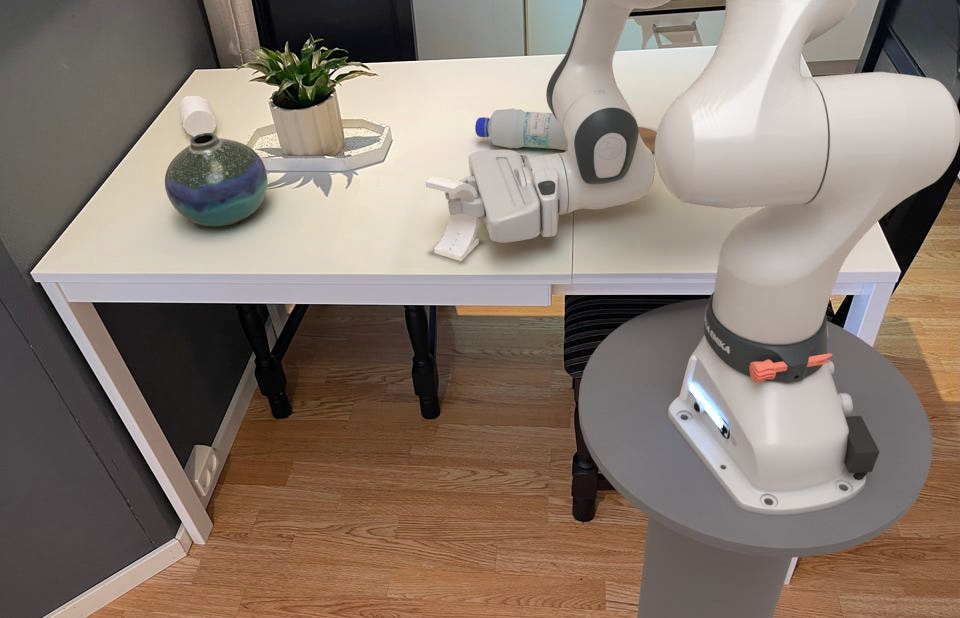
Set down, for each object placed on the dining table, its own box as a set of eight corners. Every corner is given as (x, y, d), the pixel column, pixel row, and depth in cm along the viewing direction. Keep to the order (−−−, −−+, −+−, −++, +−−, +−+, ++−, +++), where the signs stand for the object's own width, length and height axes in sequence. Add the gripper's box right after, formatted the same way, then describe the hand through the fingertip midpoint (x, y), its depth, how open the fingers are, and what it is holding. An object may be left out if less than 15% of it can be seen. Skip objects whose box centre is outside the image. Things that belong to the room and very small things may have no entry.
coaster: (671, 151, 133) (671, 149, 132) (613, 160, 132) (613, 158, 132) (651, 125, 140) (651, 123, 140) (596, 133, 140) (596, 131, 139)
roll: (211, 109, 158) (202, 83, 155) (220, 133, 150) (211, 106, 146) (180, 116, 157) (171, 89, 153) (187, 141, 148) (178, 113, 144)
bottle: (587, 139, 129) (469, 132, 133) (588, 160, 135) (475, 153, 139) (592, 104, 131) (475, 98, 135) (593, 127, 137) (481, 121, 141)
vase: (293, 196, 130) (275, 122, 121) (236, 248, 119) (211, 170, 111) (219, 182, 135) (196, 110, 127) (158, 230, 124) (128, 155, 116)
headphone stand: (434, 253, 115) (425, 181, 107) (456, 231, 118) (449, 161, 111) (461, 261, 113) (453, 189, 105) (482, 239, 116) (477, 168, 109)
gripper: (525, 134, 120) (435, 146, 119) (557, 204, 104) (454, 219, 103) (526, 170, 124) (440, 183, 123) (557, 243, 108) (458, 258, 107)
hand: (446, 200), depth 113 cm, fingers closed on headphone stand, 3 cm apart
